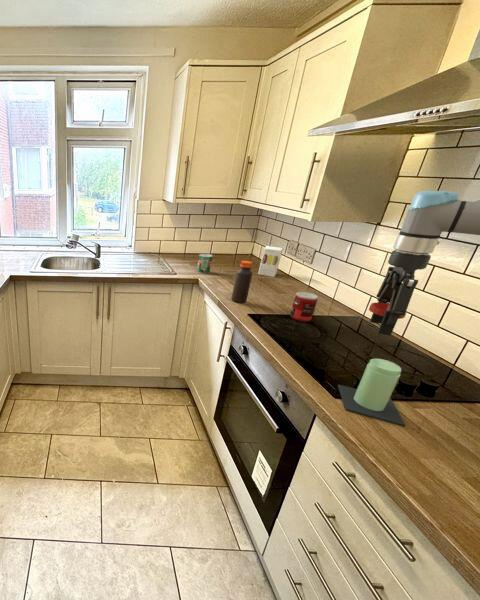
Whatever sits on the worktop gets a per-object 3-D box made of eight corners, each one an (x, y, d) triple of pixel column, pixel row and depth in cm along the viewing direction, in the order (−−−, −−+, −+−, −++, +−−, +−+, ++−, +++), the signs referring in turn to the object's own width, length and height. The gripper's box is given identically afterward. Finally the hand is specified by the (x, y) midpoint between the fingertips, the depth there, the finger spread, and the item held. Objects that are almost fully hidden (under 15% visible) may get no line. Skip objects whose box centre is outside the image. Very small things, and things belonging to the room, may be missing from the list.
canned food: (293, 312, 144) (299, 290, 140) (313, 318, 138) (321, 295, 134) (286, 317, 140) (293, 294, 135) (307, 323, 134) (315, 299, 130)
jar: (380, 399, 88) (398, 362, 84) (388, 414, 83) (407, 375, 78) (351, 392, 91) (366, 355, 87) (356, 405, 86) (372, 367, 81)
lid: (362, 307, 95) (364, 301, 94) (390, 308, 94) (393, 303, 93) (381, 317, 88) (383, 312, 87) (411, 319, 87) (414, 314, 86)
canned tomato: (212, 273, 199) (215, 256, 195) (200, 273, 198) (203, 256, 194) (205, 269, 206) (208, 253, 202) (194, 270, 205) (197, 253, 201)
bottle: (231, 302, 156) (239, 262, 148) (231, 297, 161) (239, 259, 154) (246, 304, 153) (255, 264, 145) (246, 299, 159) (254, 261, 151)
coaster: (389, 399, 90) (390, 397, 89) (404, 426, 80) (405, 424, 80) (337, 386, 95) (338, 384, 95) (345, 410, 85) (346, 408, 85)
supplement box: (257, 274, 197) (263, 248, 191) (259, 271, 204) (265, 245, 198) (274, 277, 192) (281, 250, 186) (276, 273, 199) (283, 247, 193)
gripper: (449, 263, 74) (409, 347, 83) (415, 246, 90) (385, 317, 99) (406, 258, 77) (372, 340, 86) (382, 243, 94) (355, 312, 103)
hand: (379, 328), depth 93 cm, fingers closed on lid, 7 cm apart
